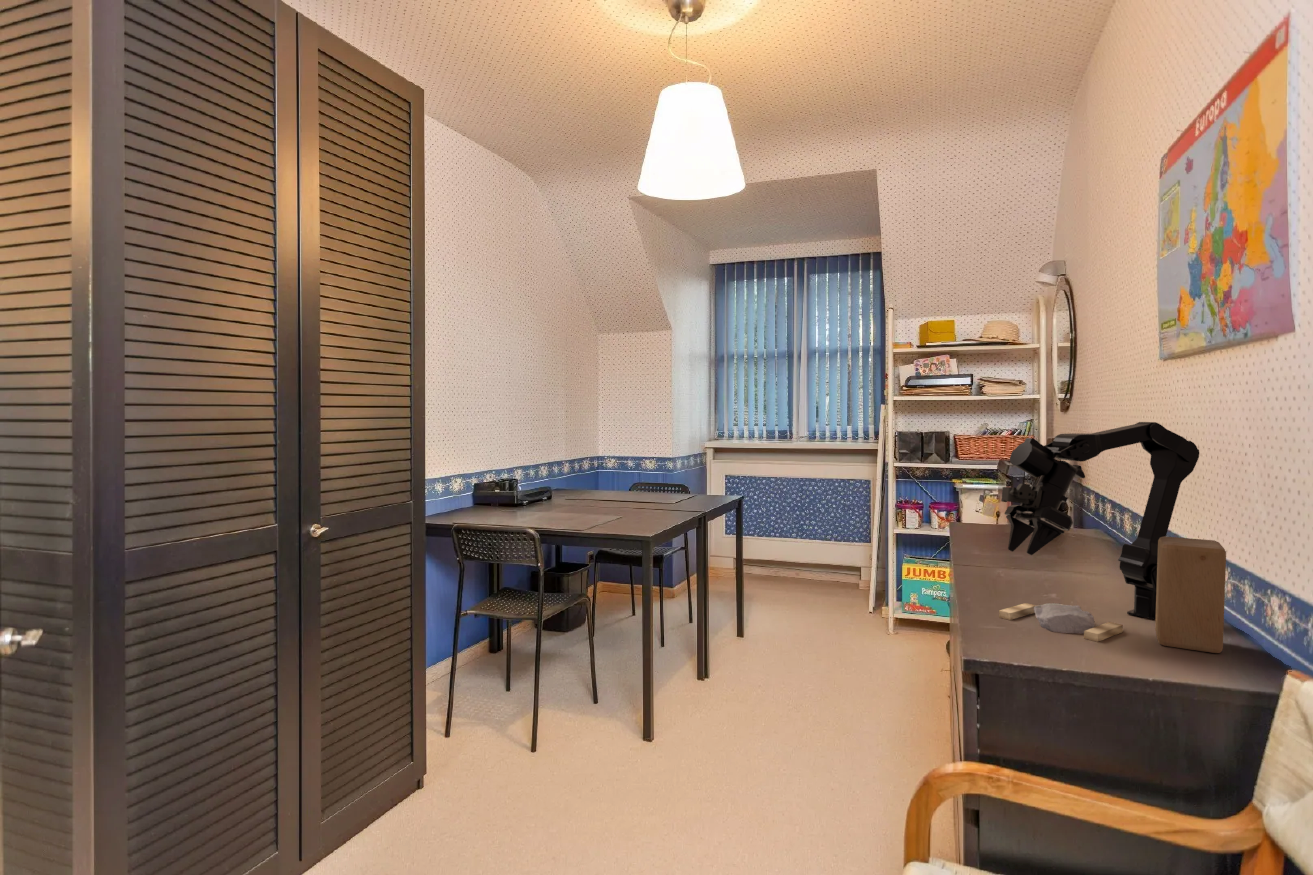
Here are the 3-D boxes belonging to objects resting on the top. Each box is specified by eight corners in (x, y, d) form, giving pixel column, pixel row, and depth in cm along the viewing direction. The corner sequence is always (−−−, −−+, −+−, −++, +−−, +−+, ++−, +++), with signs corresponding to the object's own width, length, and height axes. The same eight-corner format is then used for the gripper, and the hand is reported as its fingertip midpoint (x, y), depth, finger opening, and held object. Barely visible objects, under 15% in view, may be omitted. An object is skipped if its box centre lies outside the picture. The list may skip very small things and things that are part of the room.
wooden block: (1223, 655, 134) (1227, 548, 133) (1157, 646, 139) (1160, 542, 138) (1216, 641, 142) (1220, 540, 142) (1154, 632, 148) (1158, 535, 147)
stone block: (1047, 641, 148) (1100, 634, 146) (1042, 617, 148) (1095, 611, 146) (1030, 626, 160) (1079, 620, 158) (1025, 604, 160) (1074, 598, 158)
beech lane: (1025, 609, 164) (1025, 602, 164) (1122, 631, 148) (1122, 624, 148) (998, 617, 158) (999, 610, 158) (1097, 641, 142) (1097, 634, 142)
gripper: (999, 471, 165) (968, 532, 164) (1037, 468, 146) (1002, 537, 146) (1044, 494, 164) (1014, 555, 163) (1088, 494, 145) (1054, 563, 145)
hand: (1019, 552), depth 154 cm, fingers open, 9 cm apart
